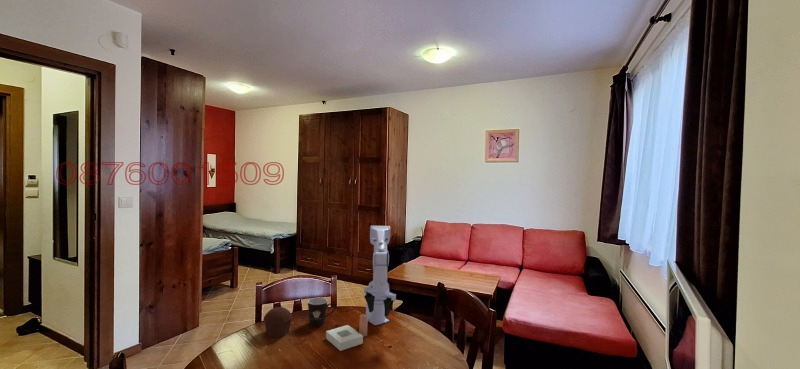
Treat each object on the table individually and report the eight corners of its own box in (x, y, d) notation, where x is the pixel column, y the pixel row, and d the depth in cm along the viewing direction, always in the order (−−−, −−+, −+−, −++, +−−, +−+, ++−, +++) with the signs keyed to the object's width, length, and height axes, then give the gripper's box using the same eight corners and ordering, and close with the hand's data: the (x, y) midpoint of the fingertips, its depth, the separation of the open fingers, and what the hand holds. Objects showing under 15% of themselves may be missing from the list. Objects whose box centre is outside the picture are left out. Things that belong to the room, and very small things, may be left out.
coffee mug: (303, 325, 143) (303, 302, 143) (313, 318, 151) (314, 296, 151) (326, 329, 139) (327, 306, 139) (336, 321, 148) (336, 300, 148)
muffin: (259, 331, 136) (259, 307, 136) (285, 324, 144) (285, 301, 144) (269, 342, 127) (270, 316, 127) (296, 334, 135) (297, 310, 135)
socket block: (325, 338, 132) (326, 331, 132) (347, 331, 138) (347, 324, 138) (340, 350, 123) (340, 343, 123) (362, 343, 129) (363, 335, 129)
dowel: (357, 334, 136) (358, 315, 136) (364, 332, 138) (364, 313, 138) (361, 337, 134) (362, 318, 134) (368, 335, 136) (369, 316, 136)
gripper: (360, 280, 134) (358, 312, 134) (390, 286, 127) (388, 321, 127) (369, 276, 140) (368, 307, 140) (398, 282, 133) (397, 315, 133)
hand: (378, 313), depth 134 cm, fingers open, 7 cm apart
